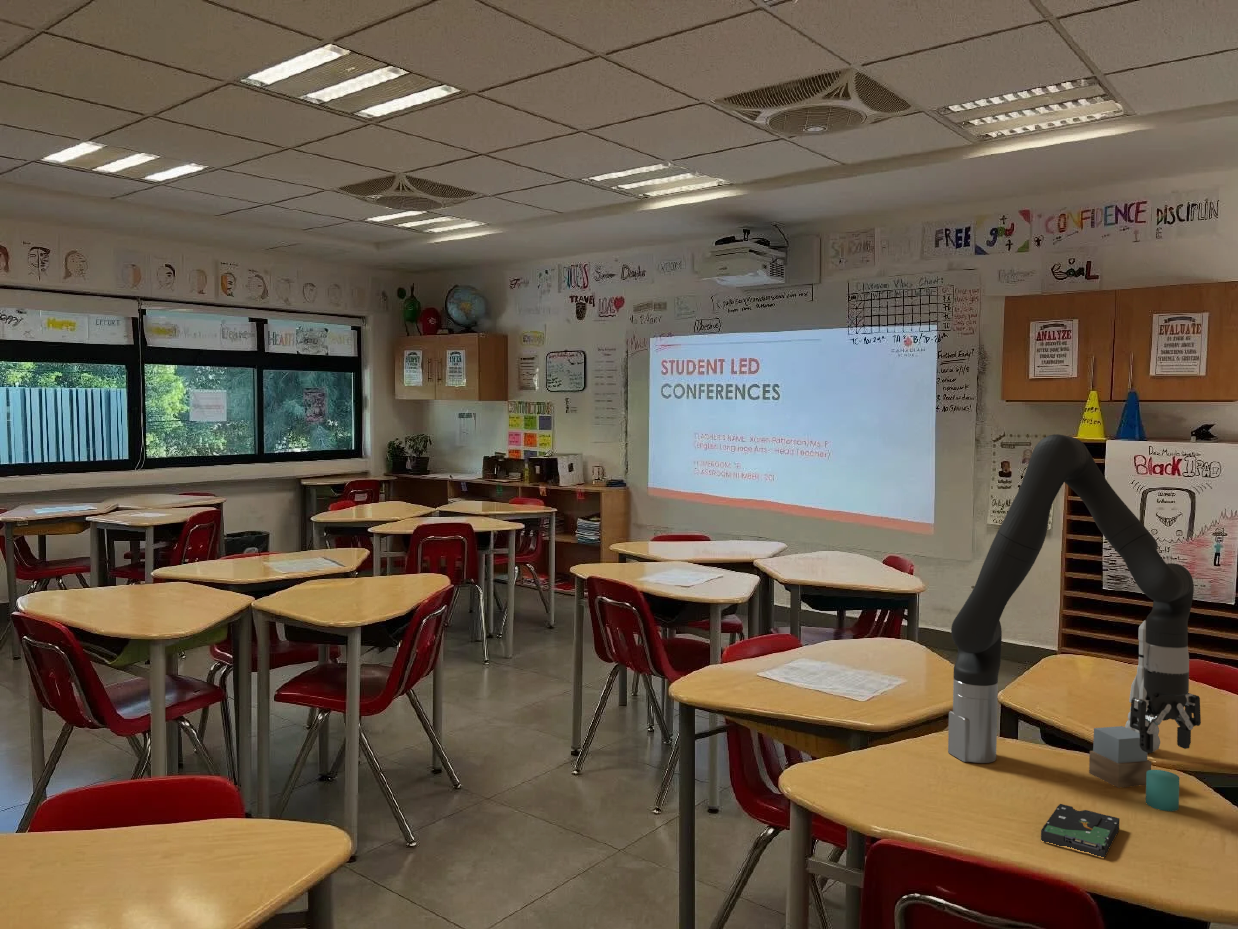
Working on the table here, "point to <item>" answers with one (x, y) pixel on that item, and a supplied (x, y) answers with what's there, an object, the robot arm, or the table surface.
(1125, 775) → the base block
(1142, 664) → the rocket model
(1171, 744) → the table surface
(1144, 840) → the table surface
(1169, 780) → the teal upright cylinder
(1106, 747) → the middle block
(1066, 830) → the disk drive
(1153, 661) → the robot arm
